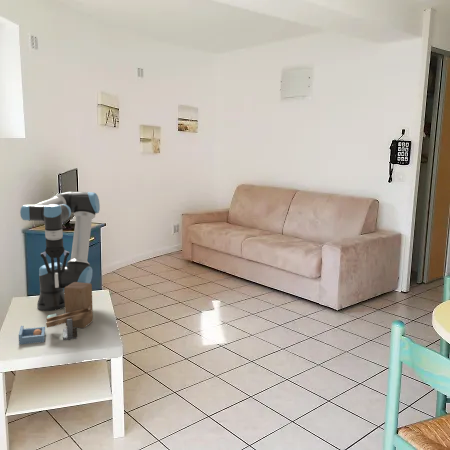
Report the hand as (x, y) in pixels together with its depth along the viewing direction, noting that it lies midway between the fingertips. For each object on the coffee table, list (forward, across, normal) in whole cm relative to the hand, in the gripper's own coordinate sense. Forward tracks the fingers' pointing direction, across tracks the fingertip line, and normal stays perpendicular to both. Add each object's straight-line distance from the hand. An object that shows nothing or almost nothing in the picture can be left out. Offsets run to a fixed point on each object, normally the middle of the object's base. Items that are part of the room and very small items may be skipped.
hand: (57, 286), depth 225 cm
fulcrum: (+20, +5, -11) cm, 23 cm away
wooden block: (+21, +9, +1) cm, 23 cm away
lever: (+13, +5, -7) cm, 16 cm away
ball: (+18, -9, -11) cm, 23 cm away
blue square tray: (+20, -11, -11) cm, 25 cm away
